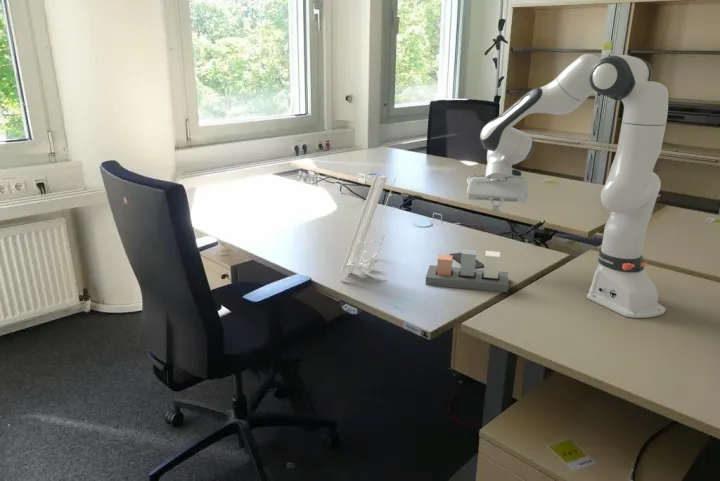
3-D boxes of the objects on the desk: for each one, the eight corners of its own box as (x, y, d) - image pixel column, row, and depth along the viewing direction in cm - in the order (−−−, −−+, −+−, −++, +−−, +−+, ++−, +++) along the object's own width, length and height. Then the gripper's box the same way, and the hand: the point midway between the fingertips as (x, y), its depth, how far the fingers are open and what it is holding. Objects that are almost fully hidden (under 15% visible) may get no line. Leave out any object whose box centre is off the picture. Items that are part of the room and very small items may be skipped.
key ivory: (497, 273, 175) (499, 251, 172) (497, 278, 171) (499, 256, 168) (483, 272, 176) (485, 250, 173) (483, 277, 172) (485, 255, 169)
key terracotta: (451, 276, 179) (452, 255, 176) (450, 281, 175) (451, 260, 172) (438, 275, 180) (439, 254, 178) (436, 280, 176) (437, 259, 173)
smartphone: (468, 268, 186) (448, 253, 199) (468, 271, 186) (447, 256, 199) (486, 266, 188) (465, 251, 201) (486, 268, 188) (465, 254, 201)
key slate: (474, 271, 176) (476, 250, 174) (474, 276, 172) (475, 254, 170) (460, 270, 177) (462, 248, 175) (459, 275, 173) (461, 253, 171)
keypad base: (507, 279, 178) (507, 272, 177) (507, 292, 168) (508, 285, 167) (429, 271, 184) (429, 265, 183) (425, 284, 174) (425, 277, 173)
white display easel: (371, 268, 197) (404, 179, 190) (402, 284, 191) (437, 193, 183) (336, 272, 177) (372, 173, 169) (370, 291, 170) (408, 188, 163)
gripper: (467, 169, 184) (464, 204, 178) (529, 172, 179) (527, 208, 174) (467, 179, 190) (464, 213, 184) (527, 182, 185) (525, 217, 179)
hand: (495, 210), depth 179 cm, fingers closed
